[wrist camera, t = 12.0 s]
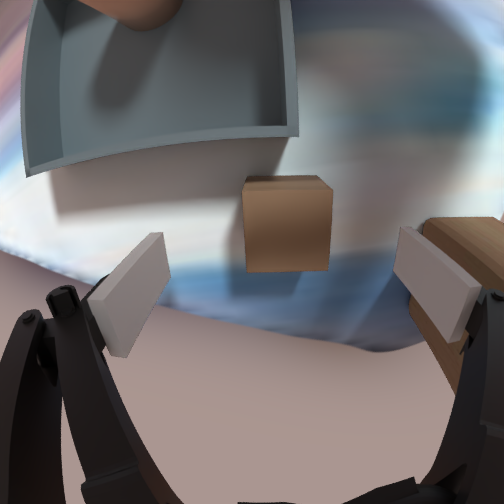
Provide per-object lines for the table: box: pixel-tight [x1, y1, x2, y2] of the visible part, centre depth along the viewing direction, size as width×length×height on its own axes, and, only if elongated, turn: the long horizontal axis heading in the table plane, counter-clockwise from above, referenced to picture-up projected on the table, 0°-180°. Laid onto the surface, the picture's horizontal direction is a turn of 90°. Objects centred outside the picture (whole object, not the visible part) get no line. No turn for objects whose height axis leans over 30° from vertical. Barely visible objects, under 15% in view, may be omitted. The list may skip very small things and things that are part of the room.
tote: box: [21, 0, 299, 178], centre depth 12 cm, size 17×19×5 cm
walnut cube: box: [242, 175, 333, 273], centre depth 18 cm, size 5×5×5 cm
